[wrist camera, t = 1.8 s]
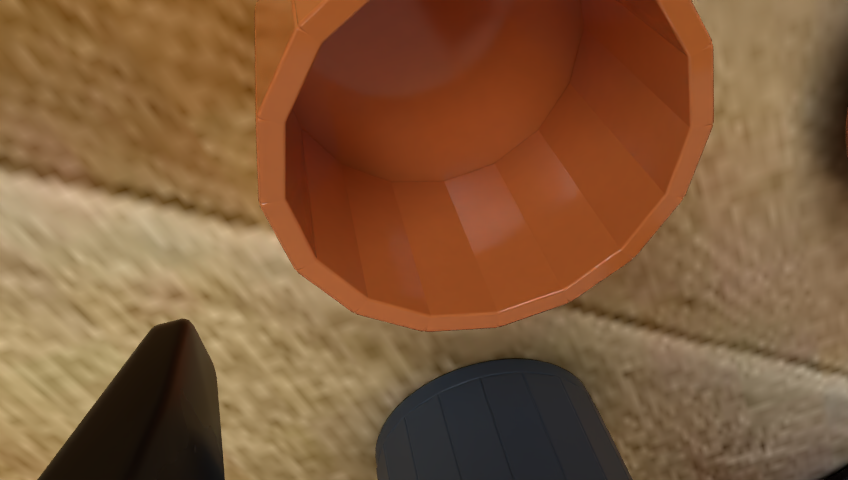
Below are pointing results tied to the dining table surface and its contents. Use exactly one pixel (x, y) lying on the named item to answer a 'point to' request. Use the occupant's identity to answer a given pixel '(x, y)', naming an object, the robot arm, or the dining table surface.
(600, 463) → the jar
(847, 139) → the cup and saucer
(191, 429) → the robot arm
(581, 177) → the cup
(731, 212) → the dining table surface
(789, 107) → the dining table surface
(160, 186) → the dining table surface
